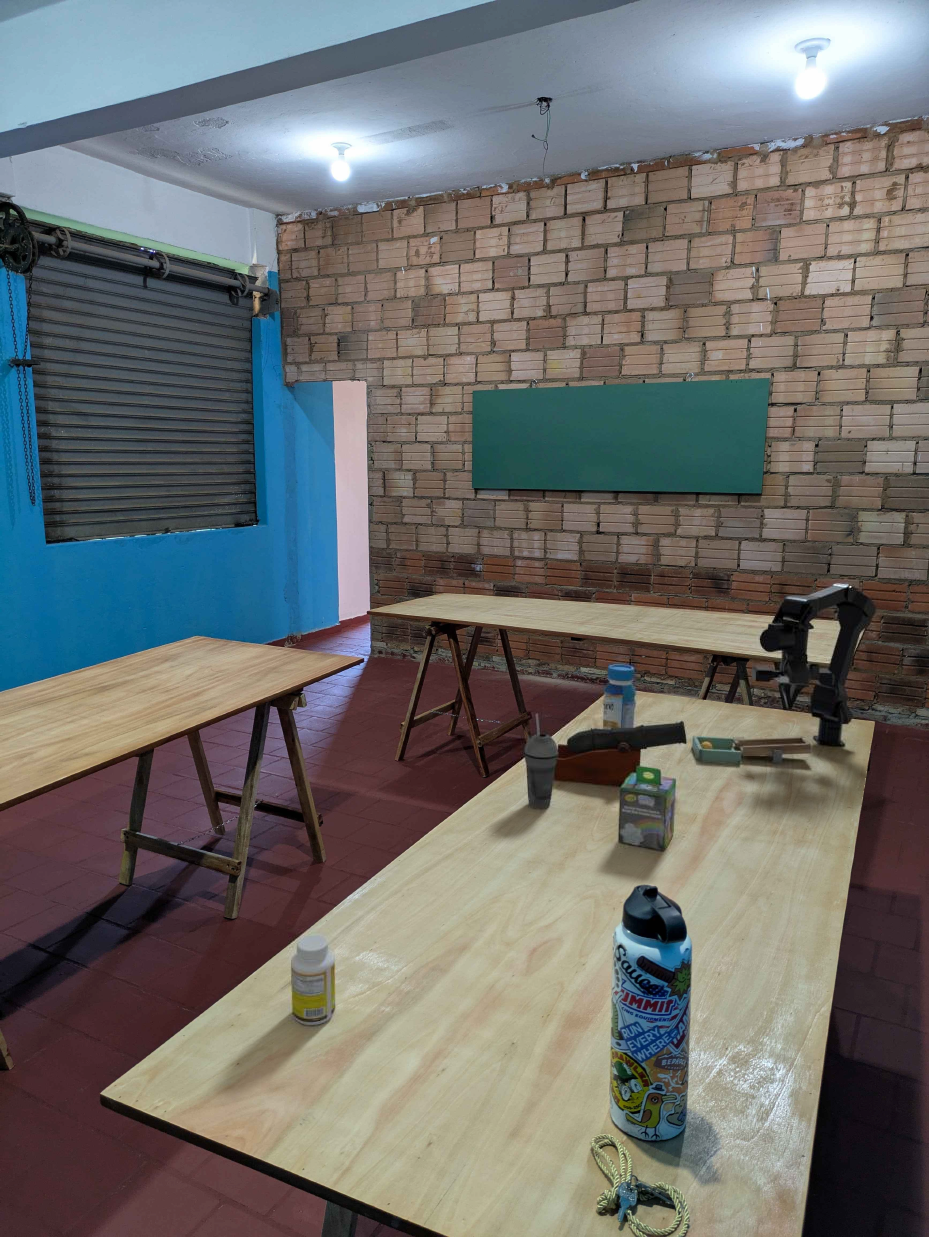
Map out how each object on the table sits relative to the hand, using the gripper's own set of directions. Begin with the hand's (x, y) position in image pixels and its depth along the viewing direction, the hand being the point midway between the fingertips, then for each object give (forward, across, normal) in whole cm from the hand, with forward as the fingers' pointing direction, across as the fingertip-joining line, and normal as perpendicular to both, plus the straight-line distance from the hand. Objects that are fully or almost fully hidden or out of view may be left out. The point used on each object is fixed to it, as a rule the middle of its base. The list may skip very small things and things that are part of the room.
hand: (789, 708), depth 213 cm
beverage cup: (+12, -61, -43) cm, 76 cm away
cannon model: (+12, -43, -25) cm, 51 cm away
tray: (+12, -18, -4) cm, 22 cm away
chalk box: (+12, -40, -56) cm, 70 cm away
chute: (+10, -4, -1) cm, 11 cm away
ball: (+10, -20, -4) cm, 23 cm away
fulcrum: (+12, -4, -4) cm, 13 cm away
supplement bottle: (+12, -87, -118) cm, 147 cm away
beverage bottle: (+12, -42, +3) cm, 44 cm away
